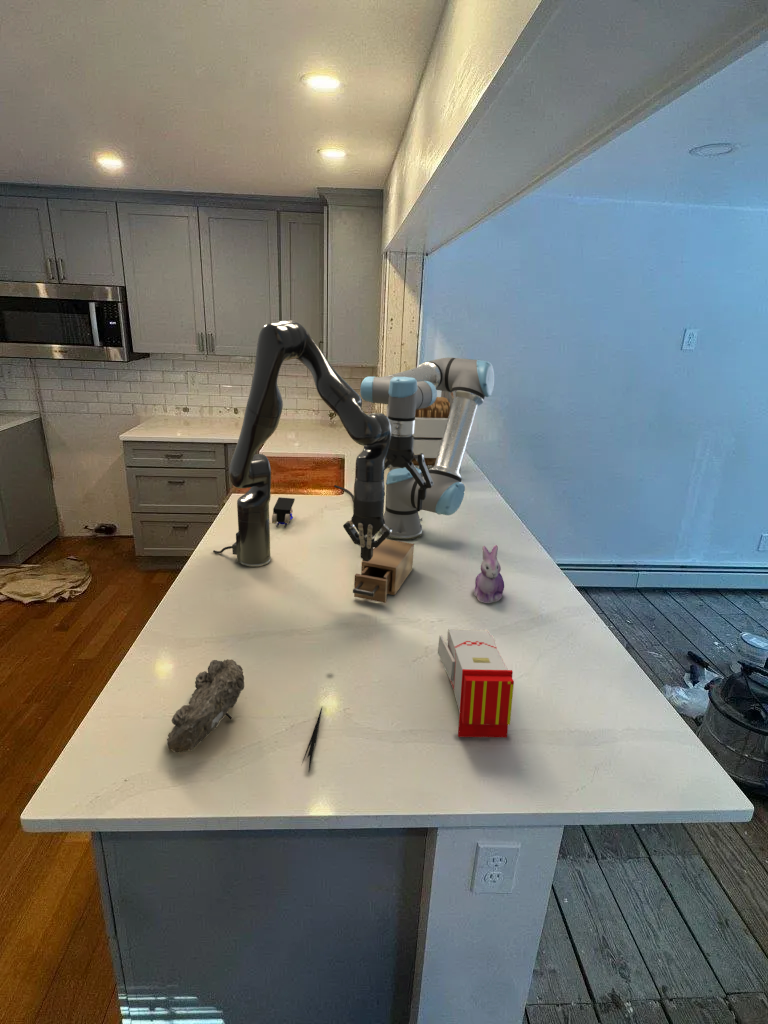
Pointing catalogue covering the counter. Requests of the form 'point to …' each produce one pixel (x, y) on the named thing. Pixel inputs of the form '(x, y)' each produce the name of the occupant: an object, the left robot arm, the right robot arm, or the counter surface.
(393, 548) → the cabinet
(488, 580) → the figurine
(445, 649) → the toy
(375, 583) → the drawer
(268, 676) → the counter surface
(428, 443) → the grey tiered rack
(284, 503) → the figurine character
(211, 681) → the fossil
